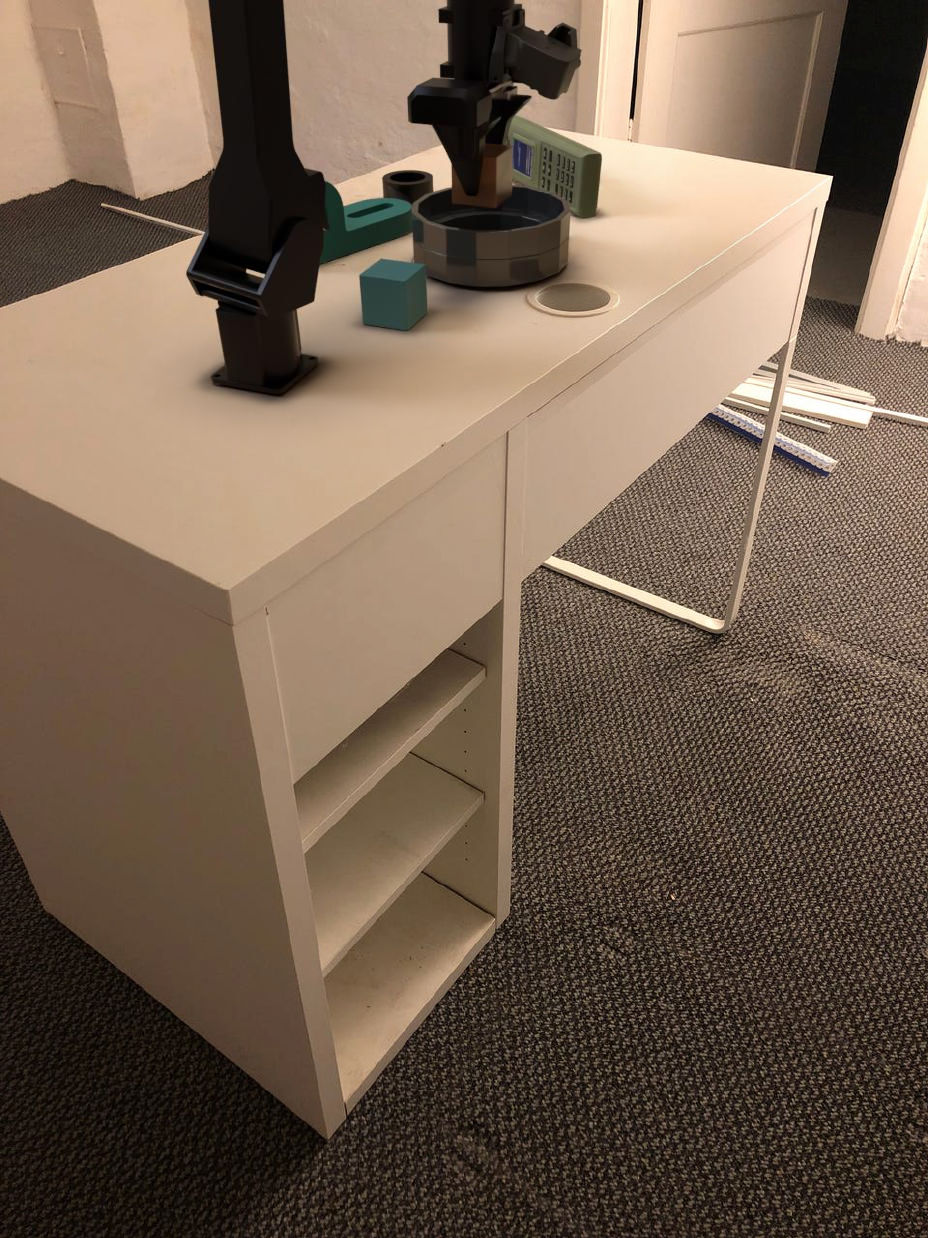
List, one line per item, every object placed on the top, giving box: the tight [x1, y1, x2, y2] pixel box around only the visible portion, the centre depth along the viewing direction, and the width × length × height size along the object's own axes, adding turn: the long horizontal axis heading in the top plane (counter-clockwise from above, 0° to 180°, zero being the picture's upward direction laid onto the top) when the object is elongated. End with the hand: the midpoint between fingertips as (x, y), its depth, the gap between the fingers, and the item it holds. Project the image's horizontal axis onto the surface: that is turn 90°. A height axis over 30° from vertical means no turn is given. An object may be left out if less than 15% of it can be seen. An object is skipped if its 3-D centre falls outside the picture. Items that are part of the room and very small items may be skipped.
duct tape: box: [381, 169, 434, 205], centre depth 114 cm, size 8×10×3 cm
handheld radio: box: [505, 114, 603, 219], centre depth 117 cm, size 7×3×25 cm
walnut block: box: [450, 143, 513, 208], centre depth 92 cm, size 4×4×4 cm
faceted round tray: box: [411, 184, 572, 288], centre depth 98 cm, size 15×15×6 cm
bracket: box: [319, 180, 413, 265], centre depth 103 cm, size 18×7×8 cm, turn 136°
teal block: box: [358, 258, 429, 332], centre depth 88 cm, size 4×4×4 cm
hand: (481, 188), depth 93 cm, fingers closed on walnut block, 4 cm apart
